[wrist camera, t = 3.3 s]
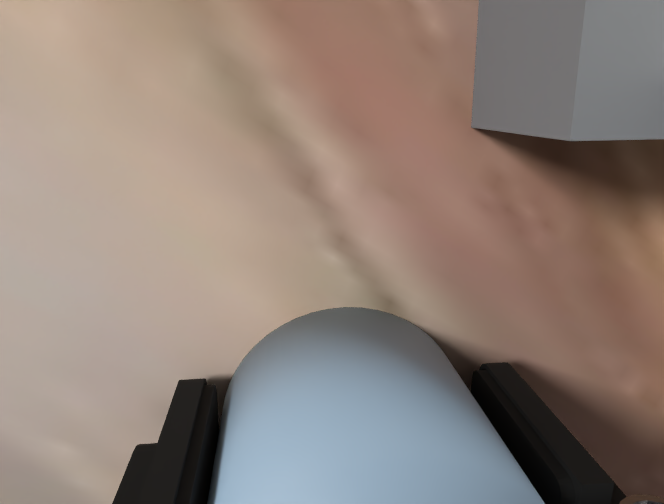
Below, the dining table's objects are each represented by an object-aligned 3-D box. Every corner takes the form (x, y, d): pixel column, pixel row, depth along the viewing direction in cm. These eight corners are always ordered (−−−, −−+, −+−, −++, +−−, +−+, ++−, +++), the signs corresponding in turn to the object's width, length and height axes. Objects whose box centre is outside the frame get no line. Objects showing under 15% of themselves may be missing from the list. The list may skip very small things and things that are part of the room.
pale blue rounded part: (452, 506, 13) (554, 740, 8) (229, 524, 13) (201, 786, 8) (467, 301, 12) (604, 443, 7) (214, 311, 11) (168, 474, 6)
